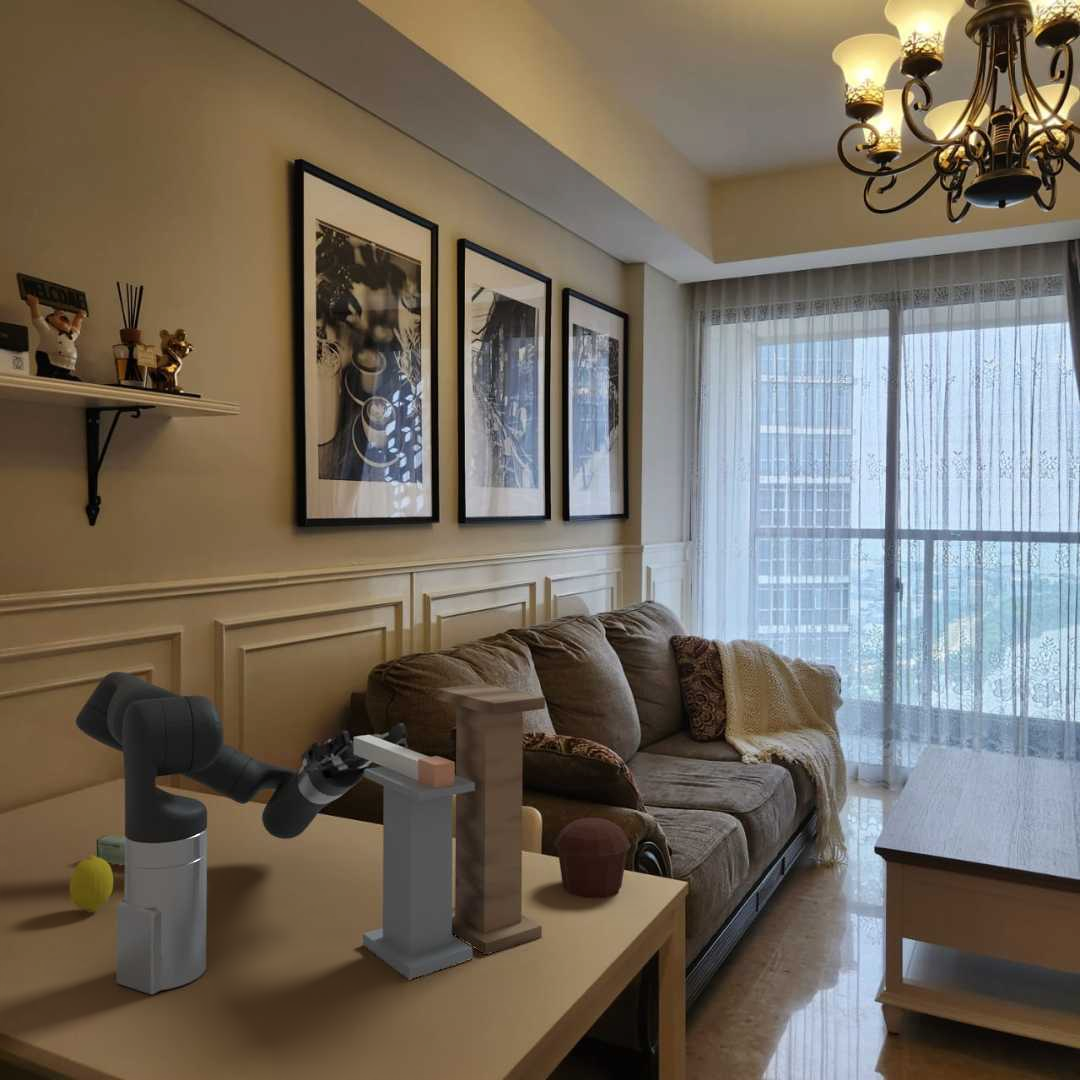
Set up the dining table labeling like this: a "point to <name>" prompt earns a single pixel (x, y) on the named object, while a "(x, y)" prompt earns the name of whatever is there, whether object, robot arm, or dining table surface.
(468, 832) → the tall tower
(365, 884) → the dining table surface
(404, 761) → the white square bar
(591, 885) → the muffin
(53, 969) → the dining table surface
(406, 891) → the grey pedestal column
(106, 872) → the lemon
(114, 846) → the medication box
